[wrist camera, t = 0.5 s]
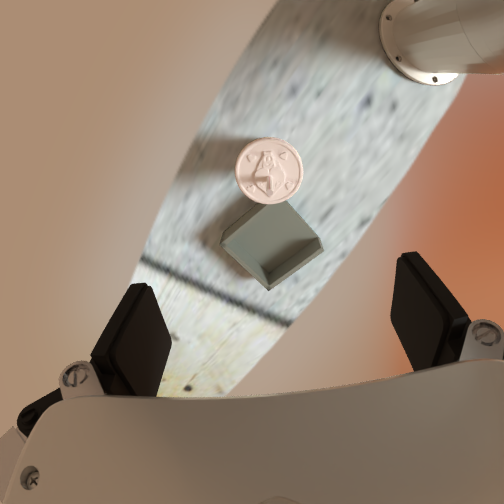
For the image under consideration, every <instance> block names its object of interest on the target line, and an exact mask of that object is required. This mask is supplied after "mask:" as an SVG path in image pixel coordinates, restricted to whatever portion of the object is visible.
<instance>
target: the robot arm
mask: <svg viewBox="0 0 504 504" xmlns="http://www.w3.org/2000/svg"><path fill="white" fill-rule="evenodd" d="M414 1H415V2H414ZM386 18H388V20H387V19H386ZM379 33H380V39H381V42H382V45H383V48H384V50H385V52H386V54H387V56H388V57H389V59H390V60H391V62H392V63H393V64H394V65H395V67H396V68H397V69H398V70H399V71H400V72H402V73H403V74H404V75H405V76H407V77H408V78H410V79H412V80H414V81H415V82H418V83H421V84H425V85H433V86H438V85H444V84H447V83H449V82H451V81H452V80H454V79H455V78H456V77H457V76H458V75H459V74H497V75H504V0H393V1H392V2H390V3H389V4H388V5H387V6H386V7H385V9H384V10H383V12H382V14H381V17H380V21H379ZM396 58H397V59H398V60H396ZM432 78H433V81H432ZM390 316H391V322H392V324H393V327H394V329H395V331H396V333H397V335H398V337H399V339H400V341H401V343H402V346H403V348H404V350H405V352H406V354H407V357H408V358H409V361H410V363H411V365H412V368H413V370H414V372H410V373H406V374H401V375H396V376H391V377H387V378H382V379H377V380H372V381H366V382H360V383H355V384H349V385H342V386H336V387H329V388H322V389H314V390H306V391H297V392H287V393H277V394H265V395H250V396H230V397H156V396H157V392H158V389H159V385H160V382H161V379H162V375H163V372H164V369H165V365H166V362H167V359H168V356H169V352H170V349H171V345H172V341H171V337H170V334H169V332H168V329H167V327H166V324H165V321H164V319H163V316H162V314H161V311H160V308H159V306H158V303H157V300H156V297H155V295H154V292H153V289H152V287H151V286H148V285H147V284H146V283H136V284H131V285H130V287H129V288H128V290H127V291H126V293H125V295H124V296H123V298H122V300H121V302H120V303H119V305H118V307H117V308H116V310H115V312H114V314H113V315H112V317H111V319H110V320H109V322H108V324H107V326H106V327H105V329H104V331H103V333H102V334H101V336H100V338H99V340H98V342H97V344H96V345H95V347H94V349H93V351H92V353H91V357H92V359H91V360H90V362H87V361H77V362H74V363H72V364H70V365H68V366H67V367H66V368H65V369H64V370H63V371H62V373H61V374H60V377H59V385H60V388H58V389H56V390H55V391H53V392H51V393H49V394H48V395H46V396H44V397H42V398H41V399H39V400H37V401H35V402H34V403H32V404H30V405H28V406H27V407H25V408H24V409H23V410H22V411H21V413H20V414H19V416H18V419H17V426H18V427H17V428H14V427H12V428H11V429H9V430H8V431H7V432H6V433H5V434H4V435H3V436H2V437H1V438H0V500H1V502H2V504H504V332H503V330H502V328H501V327H500V326H499V325H497V324H496V323H494V322H492V321H490V320H485V319H480V320H476V321H473V322H471V320H470V319H469V317H468V315H467V313H466V312H465V310H464V309H463V308H462V307H461V305H460V304H459V303H458V301H457V300H456V299H455V297H454V296H453V295H452V293H451V292H450V291H449V290H448V288H447V287H446V286H445V284H444V283H443V282H442V281H441V280H440V278H439V277H438V276H437V275H436V274H435V272H434V271H433V270H432V269H431V268H430V267H429V265H428V264H427V263H426V262H425V260H424V259H423V258H422V257H421V256H420V254H419V253H417V252H408V253H402V255H401V257H399V258H398V259H397V266H396V276H395V285H394V293H393V300H392V307H391V315H390Z"/></svg>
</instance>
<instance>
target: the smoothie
mask: <svg viewBox="0 0 504 504" xmlns="http://www.w3.org/2000/svg"><path fill="white" fill-rule="evenodd" d="M235 177H236V181H237V184H238V186H239V188H240V189H241V191H242V192H243V193H244V194H245V195H246V196H247V197H248V198H250V199H251V200H253V201H255V202H258V203H262V204H277V203H280V202H283V201H285V200H287V199H289V198H290V197H291V196H293V195H294V194H295V192H296V191H297V190H298V188H299V187H300V184H301V182H302V178H303V165H302V160H301V158H300V156H299V154H298V152H297V151H296V150H295V149H294V147H293V146H292V145H290V144H289V143H287V142H286V141H284V140H281V139H278V138H274V137H264V138H259V139H256V140H254V141H252V142H250V143H249V144H247V145H246V146H245V147H244V148H243V149H242V150H241V152H240V154H239V155H238V157H237V161H236V164H235Z"/></svg>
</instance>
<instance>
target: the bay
mask: <svg viewBox="0 0 504 504" xmlns="http://www.w3.org/2000/svg"><path fill="white" fill-rule="evenodd" d="M220 246H221V247H222V248H223V249H224V250H225V251H226V252H228V253H229V254H230V255H231V256H232V257H233V258H234V259H235V260H236V261H237V262H238V263H239V264H240V265H241V266H242V267H243V268H245V269H246V270H247V271H248V272H249V273H250V274H251V275H252V276H253V277H254V278H255V279H256V280H257V281H258V282H260V283H261V284H262V285H263V286H264V287H265V288H266V289H267V290H268V291H269V290H271V289H272V288H274V287H275V286H276V285H278V284H279V283H281V282H282V281H283V280H285V279H286V278H288V277H289V276H290V275H292V274H293V273H295V272H296V271H297V270H299V269H300V268H301V267H303V266H304V265H306V264H307V263H308V262H310V261H311V260H312V259H314V258H315V257H316V256H318V255H319V254H321V253H322V252H323V251H324V249H323V246H322V243H321V240H320V238H319V237H318V236H317V235H316V233H315V232H314V231H313V230H312V229H311V228H310V227H309V225H308V224H307V223H306V222H305V221H304V220H303V219H302V218H301V216H300V215H299V214H298V213H297V212H296V211H295V210H294V209H293V208H292V206H291V205H290V204H289V203H288V202H287V201H286V200H285V201H283V202H280V203H277V204H262V203H258V204H256V205H255V206H254V207H253V208H252V209H251V210H249V211H248V212H247V213H246V214H245V215H243V216H242V217H241V218H240V219H239V220H238V221H236V222H235V223H234V224H233V225H232V226H231V227H229V228H228V229H227V230H226V231H225V232H224V233H223V235H222V238H221V242H220Z"/></svg>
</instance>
